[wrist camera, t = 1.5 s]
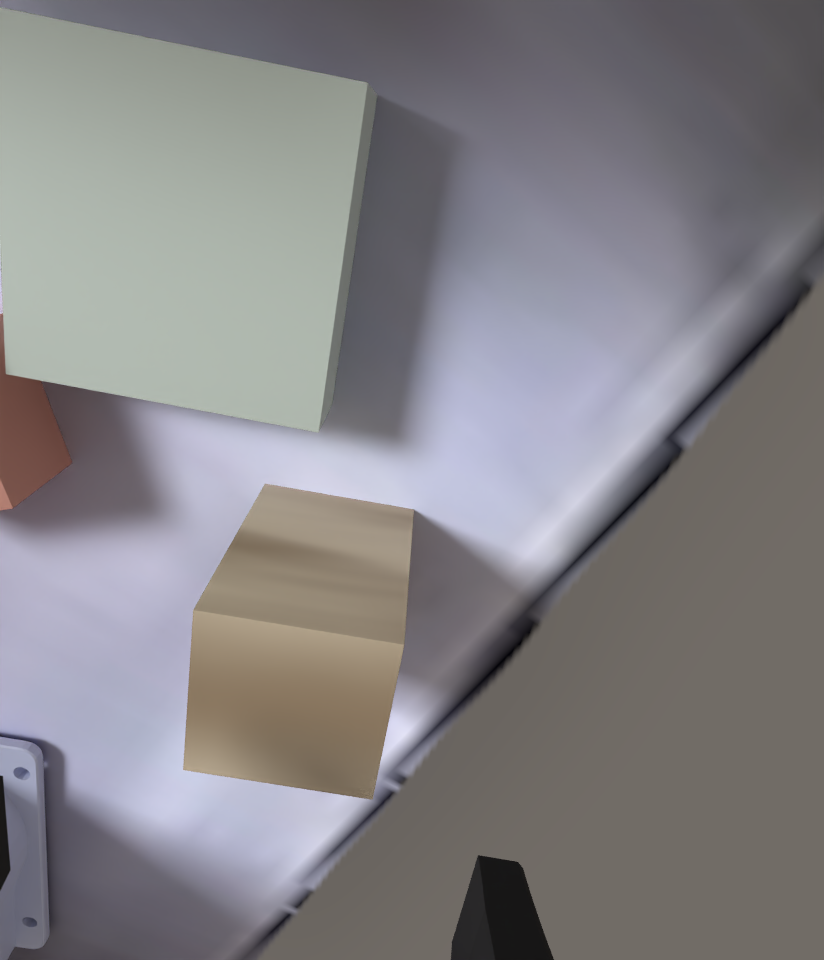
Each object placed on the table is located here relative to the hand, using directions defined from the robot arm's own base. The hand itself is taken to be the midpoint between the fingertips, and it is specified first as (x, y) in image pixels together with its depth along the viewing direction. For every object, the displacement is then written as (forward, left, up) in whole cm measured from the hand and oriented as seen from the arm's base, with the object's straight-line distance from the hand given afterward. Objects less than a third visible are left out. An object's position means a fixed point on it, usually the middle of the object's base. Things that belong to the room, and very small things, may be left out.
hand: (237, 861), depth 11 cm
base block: (+8, +4, -10) cm, 13 cm away
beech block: (0, 0, -10) cm, 10 cm away
